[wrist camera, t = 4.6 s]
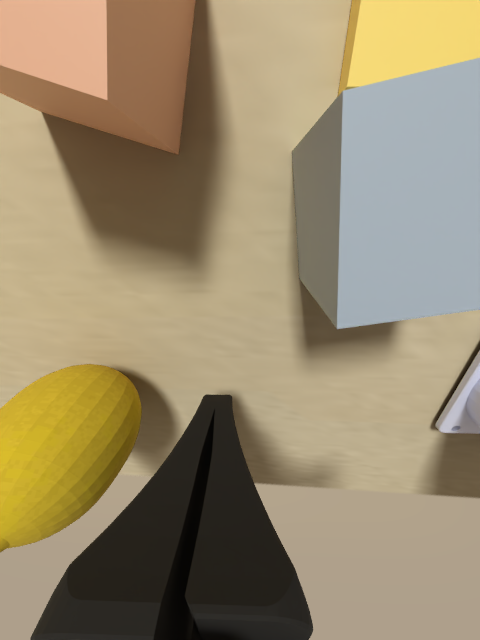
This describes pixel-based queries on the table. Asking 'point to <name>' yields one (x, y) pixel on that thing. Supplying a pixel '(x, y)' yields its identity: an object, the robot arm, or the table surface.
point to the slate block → (393, 199)
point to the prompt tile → (407, 38)
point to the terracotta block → (101, 63)
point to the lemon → (62, 448)
